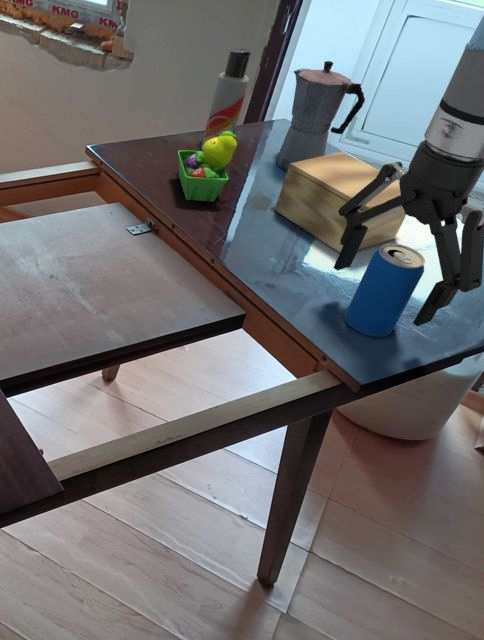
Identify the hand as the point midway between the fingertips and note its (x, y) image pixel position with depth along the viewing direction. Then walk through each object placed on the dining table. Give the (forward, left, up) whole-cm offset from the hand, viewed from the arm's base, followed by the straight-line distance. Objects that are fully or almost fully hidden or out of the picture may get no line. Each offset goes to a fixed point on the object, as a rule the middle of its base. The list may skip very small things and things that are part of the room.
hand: (379, 293), depth 94 cm
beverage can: (0, 0, -6) cm, 6 cm away
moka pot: (+42, -30, -6) cm, 52 cm away
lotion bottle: (+54, -18, -6) cm, 57 cm away
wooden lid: (+21, -17, +3) cm, 27 cm away
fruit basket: (+42, -4, -6) cm, 42 cm away
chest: (+22, -17, -6) cm, 28 cm away
